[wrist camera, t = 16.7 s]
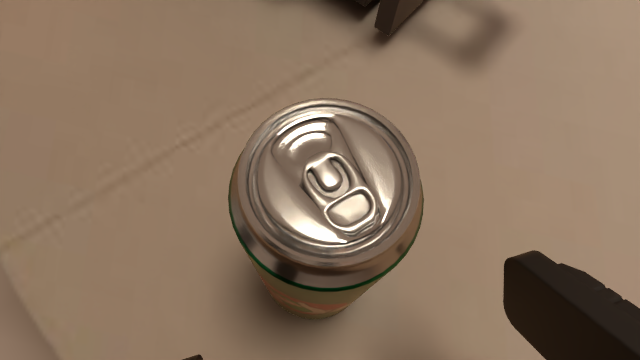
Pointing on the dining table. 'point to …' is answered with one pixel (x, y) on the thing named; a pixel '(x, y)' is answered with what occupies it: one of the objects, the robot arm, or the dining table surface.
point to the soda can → (325, 203)
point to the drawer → (392, 13)
